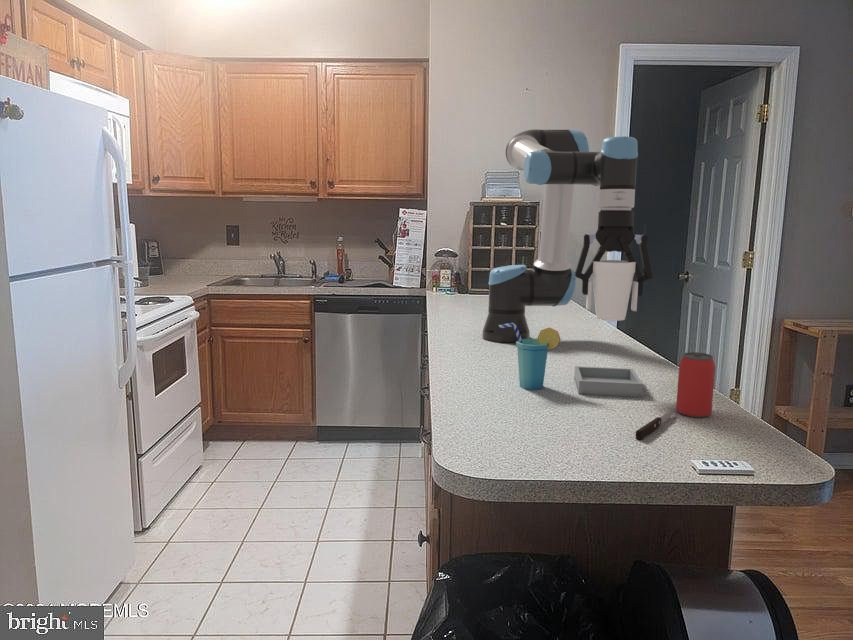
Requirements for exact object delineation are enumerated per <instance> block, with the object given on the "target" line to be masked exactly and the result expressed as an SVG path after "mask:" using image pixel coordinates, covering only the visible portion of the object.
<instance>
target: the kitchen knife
mask: <svg viewBox="0 0 853 640" xmlns="http://www.w3.org/2000/svg"><path fill="white" fill-rule="evenodd" d="M673 413H674V412H673V411H667V412H665V413H664V414H662V415H661V416H659V417H658V416H657V417H655V418H654V419H653V420H651V421H649V422H648V423H646V424H645V425H643V426H641V427H640V428H638V429H637V430H635V439H636V441H642V440H643V439H644V438H645V437H646V436H649V435H651V434H652V433H654V432H655V431H656V430H657V429H658V428H659V427H660V425H662V424H663V423H664V422H666V421H667V420H669V419H670V418H671V416H672V415H673Z"/></svg>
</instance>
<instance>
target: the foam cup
mask: <svg viewBox="0 0 853 640" xmlns="http://www.w3.org/2000/svg"><path fill="white" fill-rule="evenodd" d="M591 261H592V260H591ZM592 262H593V273H592V286H593V293H594V306H595V316H596V320H600V321H609V322H611V321H612V322H613V321H614V322H617V321H618V322H619V321H620V322H621V321H624V320H626V316H627V311H628V305H629V301H630V297H631V293H632V286H633V281H634V277H635V275H634V273H635V266H636V263H637V261H636V262H628V261H627V260H621V259H617V260H616V259H615V260H614V259H600V261H599V262H596V261H592Z"/></svg>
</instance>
